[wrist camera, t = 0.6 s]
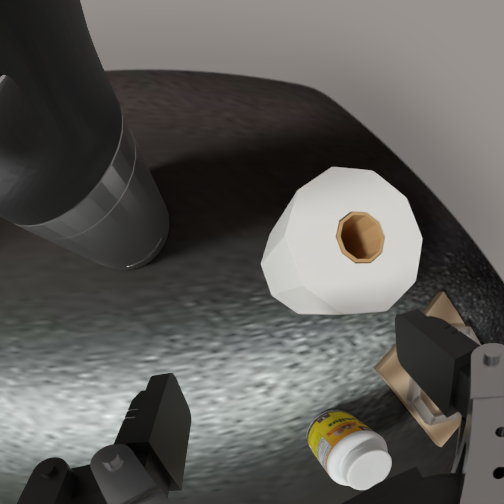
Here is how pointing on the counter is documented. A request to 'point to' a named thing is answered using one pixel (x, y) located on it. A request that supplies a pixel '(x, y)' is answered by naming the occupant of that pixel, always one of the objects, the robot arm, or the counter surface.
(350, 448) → the supplement bottle
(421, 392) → the seat plate
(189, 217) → the counter surface
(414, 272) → the toilet paper
